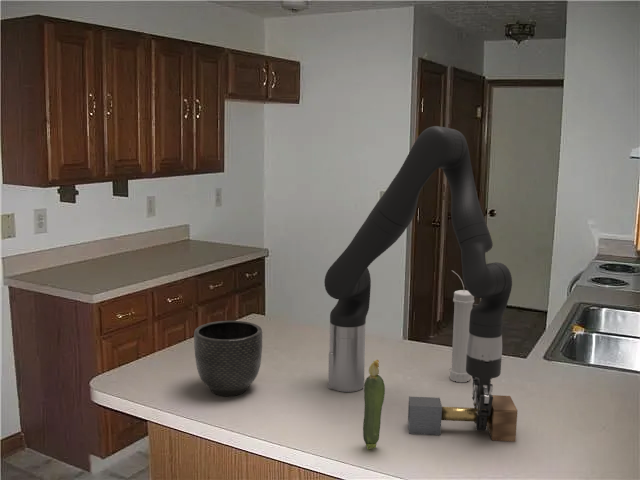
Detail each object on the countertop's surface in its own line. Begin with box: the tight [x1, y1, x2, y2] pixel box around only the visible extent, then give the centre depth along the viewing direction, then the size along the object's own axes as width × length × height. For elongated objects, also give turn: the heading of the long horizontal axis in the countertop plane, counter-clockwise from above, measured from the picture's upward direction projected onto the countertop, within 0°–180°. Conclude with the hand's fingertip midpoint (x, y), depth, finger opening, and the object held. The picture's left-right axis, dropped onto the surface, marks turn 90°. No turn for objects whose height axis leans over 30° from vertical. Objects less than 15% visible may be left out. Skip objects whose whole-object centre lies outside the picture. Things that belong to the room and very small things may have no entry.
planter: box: [193, 320, 263, 397], centre depth 174 cm, size 17×17×16 cm
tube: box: [441, 406, 493, 423], centre depth 152 cm, size 17×4×4 cm, turn 85°
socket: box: [487, 394, 518, 443], centre depth 152 cm, size 5×8×7 cm, turn 175°
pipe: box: [449, 270, 475, 383], centre depth 182 cm, size 6×6×30 cm
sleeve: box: [407, 396, 443, 436], centre depth 153 cm, size 7×5×7 cm
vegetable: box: [362, 359, 386, 450], centre depth 143 cm, size 4×4×20 cm
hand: (479, 426), depth 152 cm, fingers closed on tube, 3 cm apart
